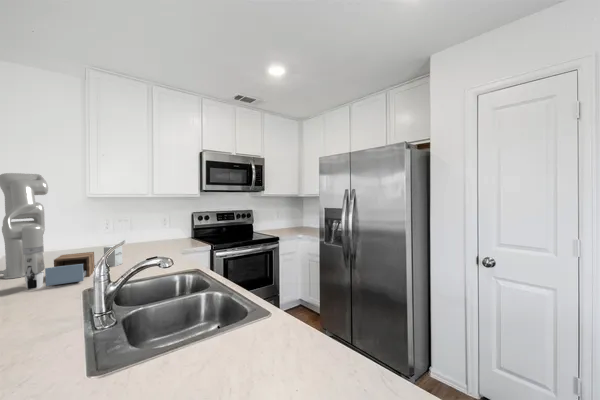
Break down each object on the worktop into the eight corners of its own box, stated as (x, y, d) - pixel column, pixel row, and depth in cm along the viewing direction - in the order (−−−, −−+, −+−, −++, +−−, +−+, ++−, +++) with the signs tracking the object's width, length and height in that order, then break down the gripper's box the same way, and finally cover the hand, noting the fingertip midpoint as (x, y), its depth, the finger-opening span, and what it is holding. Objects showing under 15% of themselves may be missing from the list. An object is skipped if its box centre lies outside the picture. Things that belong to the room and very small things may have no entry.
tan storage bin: (62, 274, 156) (62, 254, 155) (94, 270, 163) (93, 251, 163) (54, 281, 143) (53, 259, 143) (89, 276, 150) (88, 256, 150)
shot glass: (48, 285, 137) (47, 271, 137) (33, 289, 130) (32, 275, 130) (36, 284, 138) (35, 271, 137) (20, 289, 131) (20, 275, 131)
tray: (55, 278, 144) (54, 262, 144) (89, 273, 151) (88, 258, 151) (45, 285, 132) (45, 268, 132) (83, 280, 139) (82, 264, 138)
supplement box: (115, 266, 171) (114, 247, 171) (103, 266, 171) (103, 247, 171) (123, 263, 178) (122, 244, 178) (112, 263, 179) (111, 245, 178)
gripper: (36, 252, 128) (38, 290, 128) (49, 246, 143) (50, 280, 143) (14, 254, 124) (16, 293, 124) (30, 248, 139) (31, 282, 140)
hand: (34, 286), depth 134 cm, fingers closed on shot glass, 5 cm apart
